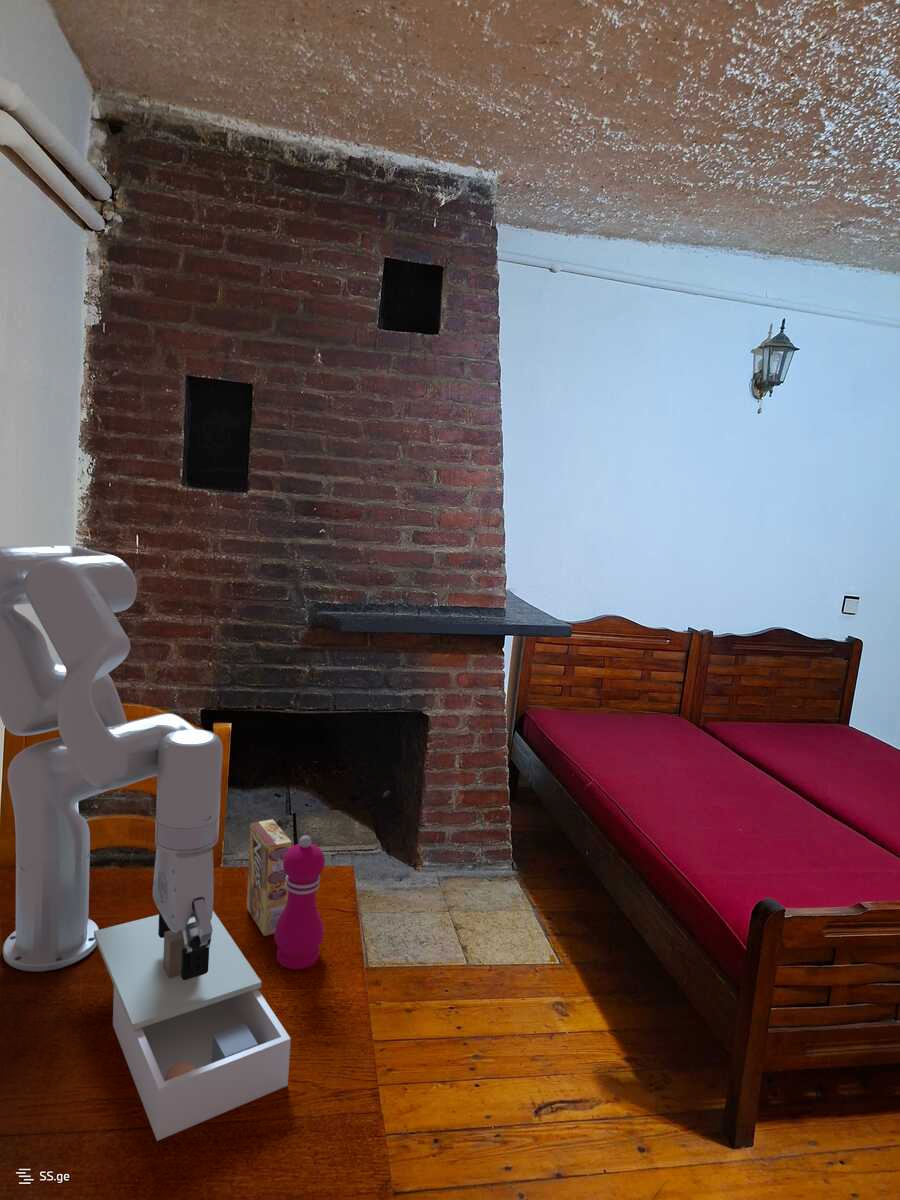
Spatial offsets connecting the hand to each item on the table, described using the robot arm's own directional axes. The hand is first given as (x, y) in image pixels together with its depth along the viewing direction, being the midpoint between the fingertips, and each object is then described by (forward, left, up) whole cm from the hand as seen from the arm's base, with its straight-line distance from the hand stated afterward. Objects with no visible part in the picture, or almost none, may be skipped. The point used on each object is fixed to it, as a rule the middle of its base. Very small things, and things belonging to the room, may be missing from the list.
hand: (182, 954), depth 98 cm
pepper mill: (-5, +19, -10) cm, 22 cm away
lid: (-3, 0, -3) cm, 4 cm away
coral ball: (+12, -4, -9) cm, 16 cm away
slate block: (+11, +3, -9) cm, 15 cm away
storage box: (+7, 0, -10) cm, 12 cm away
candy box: (-17, +19, -10) cm, 27 cm away
